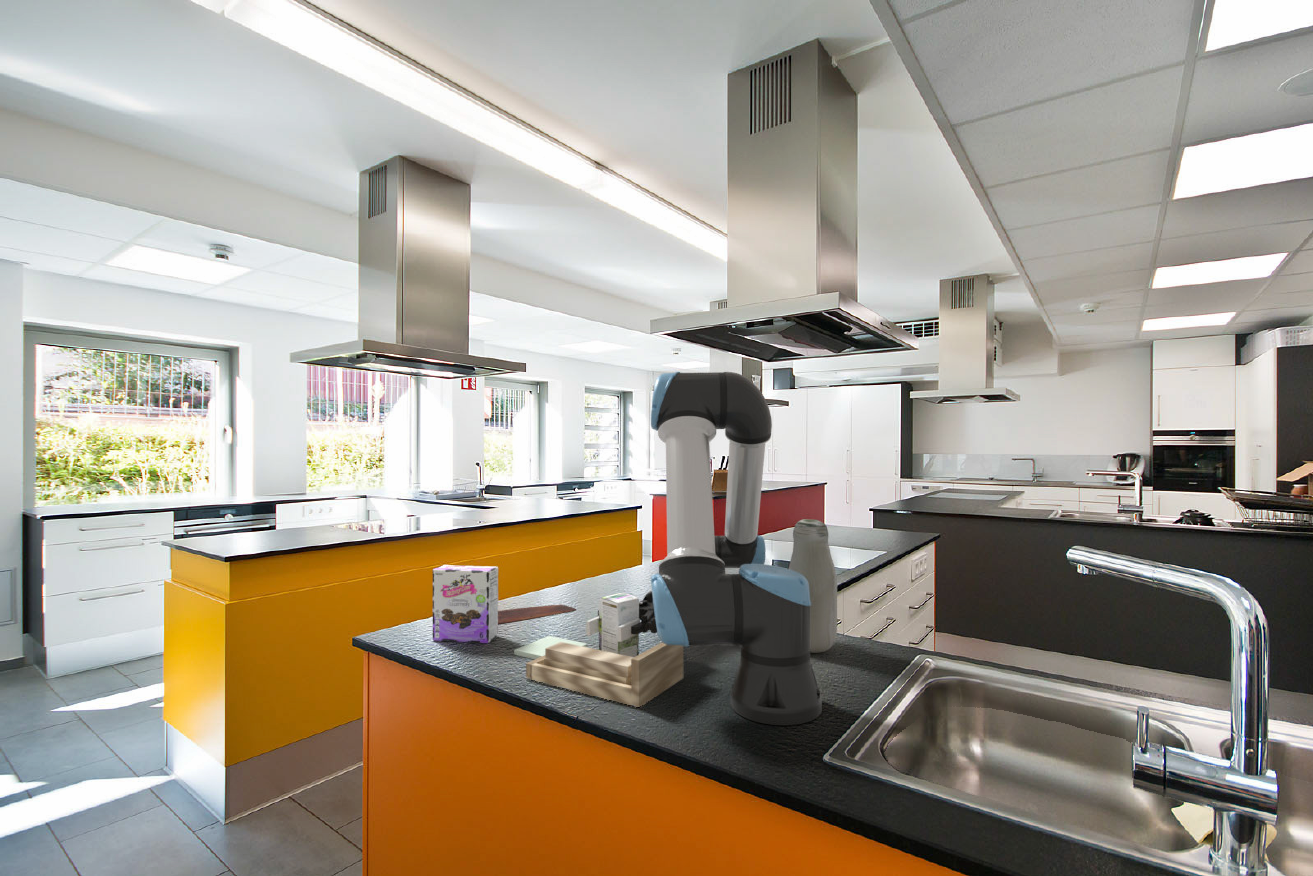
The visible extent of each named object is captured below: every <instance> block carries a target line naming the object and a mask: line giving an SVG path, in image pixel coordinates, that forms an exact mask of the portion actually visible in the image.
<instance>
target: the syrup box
mask: <svg viewBox="0 0 1313 876" xmlns="http://www.w3.org/2000/svg"><path fill="white" fill-rule="evenodd" d="M639 601H640V598H639V597H637V596H634V595H632V594H628V593H622V592H619V593H615V594H610V595H607V596H603V597H599V598H598V610H599V632H598V650H601V651H606V652H611V653H616V654H620V655H625V656H630V657H636V656H638V655H639V654H640V653H639V652H640V651H639V645H640V643H639V642H640V641H639V639H640V638H639V637H640V633H639V634H637V635H635V636H632V637H630V638H628V639H626V640H624V641H622V642H619V641H618V627H619V626H621V625H623V624H625V623H628V622H630V621H632V620H634V619H636V618H638V619H639Z"/></svg>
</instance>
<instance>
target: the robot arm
mask: <svg viewBox="0 0 1313 876" xmlns="http://www.w3.org/2000/svg"><path fill="white" fill-rule="evenodd" d="M655 379H656V380H655V382H654V387H653V393H652V400H651V412H650V427H651V429H652V430H654V431H657V434H658V435H657V436H658V438H659V439H660V441H662V442H663V443H665V485H666V488H665V489H666V493H665V494H666V552H667V553H666V554H667V556H665V557H664V559H662V561H660V562H659V564H658V573H655V574H652V575H650V586H651V587H650V588H651V590H649V592H647V593H646V594H645V595H644V597H643V599H642V600H639V619H638V618H636V619H634V620H632V621H630V622H628V623H625V624H623V625H621V626H619V627H618V641H619V642H622V641H624V640H626V639H628V638H630V637H632V636H635V635H637V634H639V635H640V633H647V632H648V631H650V633H651V634H657V637H658V638H659V640H660V642H661V643H662V642H663V643H664V644H667V645H683V647H685V648H688V647H690V646H739V647H740V658H739V662H738V666H737V669H736V672H735V676H734V680H733V683H732V686H731V687H730V693H729V694H730V706H731V708H732V710H733V711H734V712H735V713H737V714H738V715H739V716H741V717H743V718H744V719H747V720H750V721H752V722H755V723H761V724H766V725H773V726H797V725H801V724H805V723H809V722H811V721H813V720H815V719H817V718H818V717H820V715H821V714H822V711H823V708H822V705H823V703H822V701H823V700H822V693H821V690H820V689H819V685H818V681H817V678H816V675H815V672H814V669H813V666H812V663H811V652H810V606H811V601H810V592H809V583H808V581H807V579H806V578H805V577H804V576H803V575H802V574H800V573H798V572H796V571H793V570H790V569H789V568H786V567H782V566H777V565H770V564H765V562H766V542H765V541H766V540H765V538H764V537H763V536H762V535H758V532H759V530H758V529H759V521H760V510H761V509H760V508H761V498H762V487H763V475H764V474H763V473H764V463H765V452H766V443H767V442H768V443H769V441H770V440H771V437H772V428H773V422H772V421H773V420H772V415H771V409H770V408H769V404H768V402H767V400H766V398H765V396H764V394H763V393H762V391H761V389H760V388H759V387H758V386H757V385H756V384H755V383H754V382H753V381H752V380H751V379H749V378H748V377H746V376H744V375H743V374H740V373H737V372H732V371H723V372H722V371H721V372H718V371H717V372H680V371H675V372H668V373H667V372H665V373H664V372H663V373H661V374H659V375H657V377H656V378H655ZM717 430H724V436H725V437H726V439H727V440H728V441H729V444H728V463H727V464H728V465H727V480H726V484H727V485H726V500H725V502H726V503H725V520H724V521H725V523H724V535H715V522H714V505H713V504H714V503H713V487H712V485H713V484H712V468H711V451H710V442H711V441H712V440H714V439H715V437H716V436H717ZM726 569H738V573H726ZM585 623H586V626H585V627H586V631H585V633H586V636H589V637H590V636H593V635H594V634H598V633H599V609H598V611H597V616H596V617H593V618H591V619H588V620H586V622H585Z"/></svg>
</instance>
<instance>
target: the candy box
mask: <svg viewBox="0 0 1313 876" xmlns="http://www.w3.org/2000/svg"><path fill="white" fill-rule="evenodd" d="M498 611H499V567H498V566H495V565H494V566H491V565H490V566H488V565H486V566H483V565H482V566H481V565H476V566H475V565H453V564H452V565H450V564H443V565H440V566H438V567H436V568H433V569H432V641H436V642H454V643H455V642H456V643H458V642H459V643H475V644H476V643H478V644H489V643H491V642H492V641H493V640H495V639H496V638H498V637H499V624H498Z"/></svg>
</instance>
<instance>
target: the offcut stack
mask: <svg viewBox="0 0 1313 876" xmlns="http://www.w3.org/2000/svg"><path fill="white" fill-rule="evenodd" d="M632 658H634V657H630V656H625V655H620V654H616V653H611V652H606V651H601V650H599V649H596V648H591V647H588V648H587V647H582V646H578V645H573V644H568V643H563V642H560V643H557V644H555V645H552V646H550V647H548V648H545V658H544V665H545V666H550V667H554V668H558V669H562V670H567V671H571V672H575V673H579V674H584V675H588V676H592V677H596V678H600V679H605V680H609V681H613V682H617V683H622V684H626V685H630V686H631V659H632Z"/></svg>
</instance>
